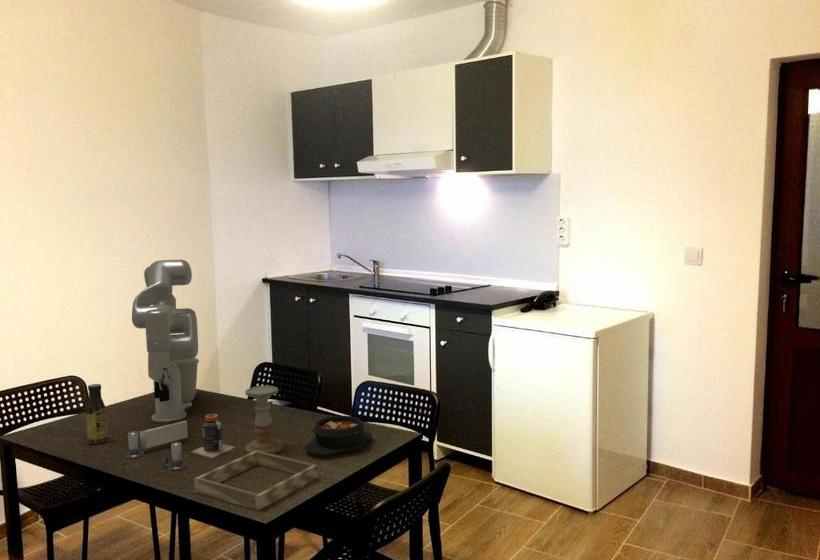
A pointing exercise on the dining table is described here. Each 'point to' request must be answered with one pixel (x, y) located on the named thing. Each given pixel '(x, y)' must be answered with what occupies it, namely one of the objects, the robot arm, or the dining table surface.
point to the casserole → (337, 435)
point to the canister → (187, 377)
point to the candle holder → (263, 421)
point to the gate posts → (175, 452)
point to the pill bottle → (212, 433)
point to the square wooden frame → (215, 489)
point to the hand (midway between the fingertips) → (162, 398)
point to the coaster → (213, 454)
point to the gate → (163, 434)
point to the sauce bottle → (96, 416)
